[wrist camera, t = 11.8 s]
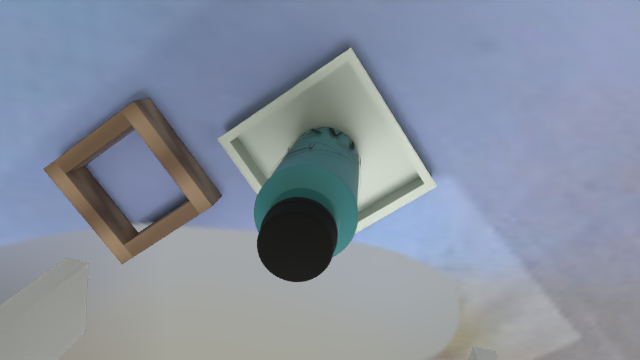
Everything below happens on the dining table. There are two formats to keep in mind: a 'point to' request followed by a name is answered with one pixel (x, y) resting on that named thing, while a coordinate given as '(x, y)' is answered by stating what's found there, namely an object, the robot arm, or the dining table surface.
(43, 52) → the dining table surface
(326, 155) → the beverage bottle
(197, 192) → the socket block
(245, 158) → the tray
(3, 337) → the robot arm
